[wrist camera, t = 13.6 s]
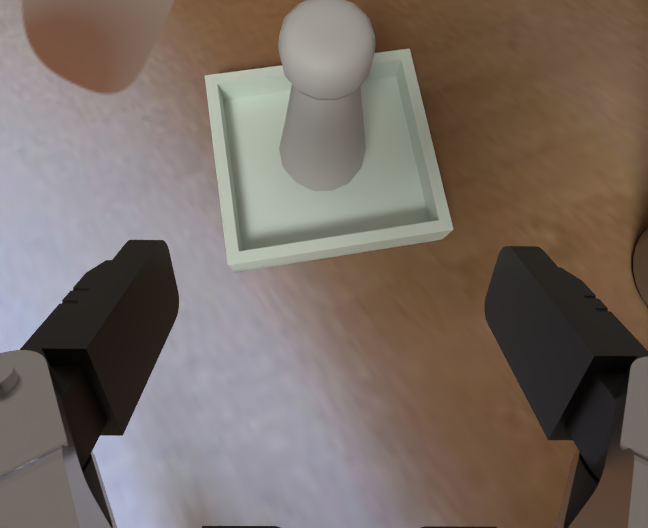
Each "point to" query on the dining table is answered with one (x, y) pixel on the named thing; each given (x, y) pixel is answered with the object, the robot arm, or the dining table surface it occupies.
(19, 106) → the dining table surface
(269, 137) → the tray
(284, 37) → the salt shaker
